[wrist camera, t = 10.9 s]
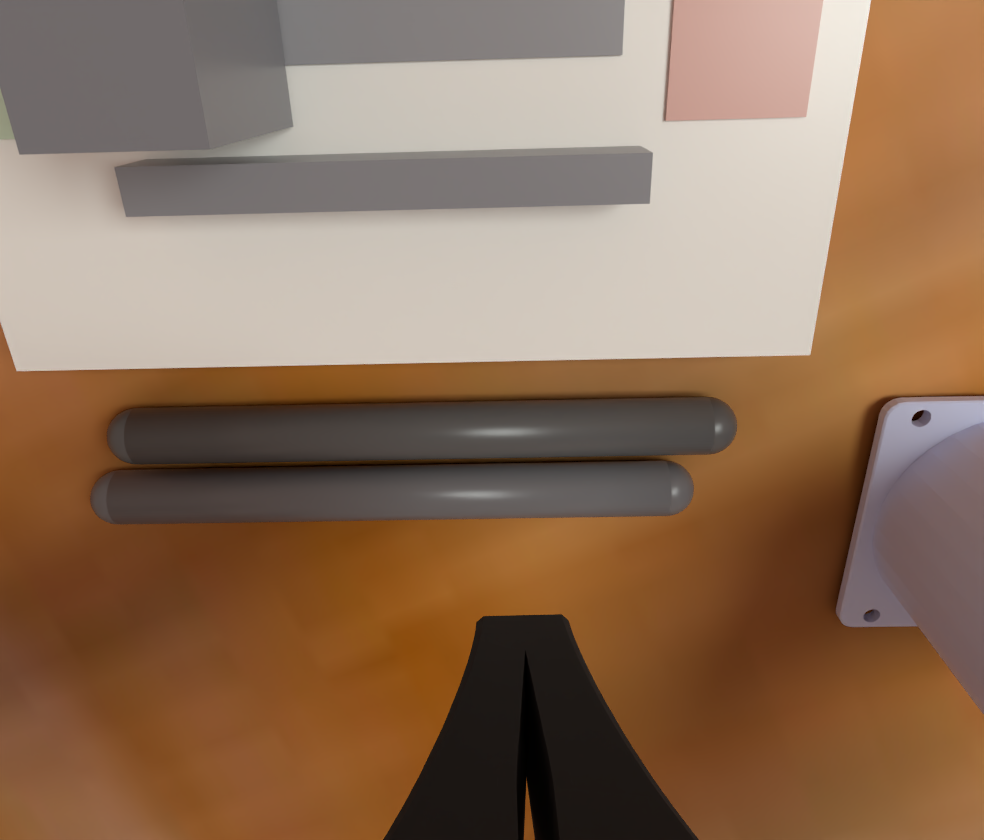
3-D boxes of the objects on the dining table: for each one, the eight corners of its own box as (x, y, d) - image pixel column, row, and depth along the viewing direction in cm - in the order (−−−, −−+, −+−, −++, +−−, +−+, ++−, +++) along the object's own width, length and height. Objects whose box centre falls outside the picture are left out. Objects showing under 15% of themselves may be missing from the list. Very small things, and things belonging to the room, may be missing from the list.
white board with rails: (912, -528, 13) (1043, -719, 10) (757, 495, 22) (799, 566, 19) (-186, -476, 14) (-394, -641, 10) (107, 506, 23) (44, 576, 20)
